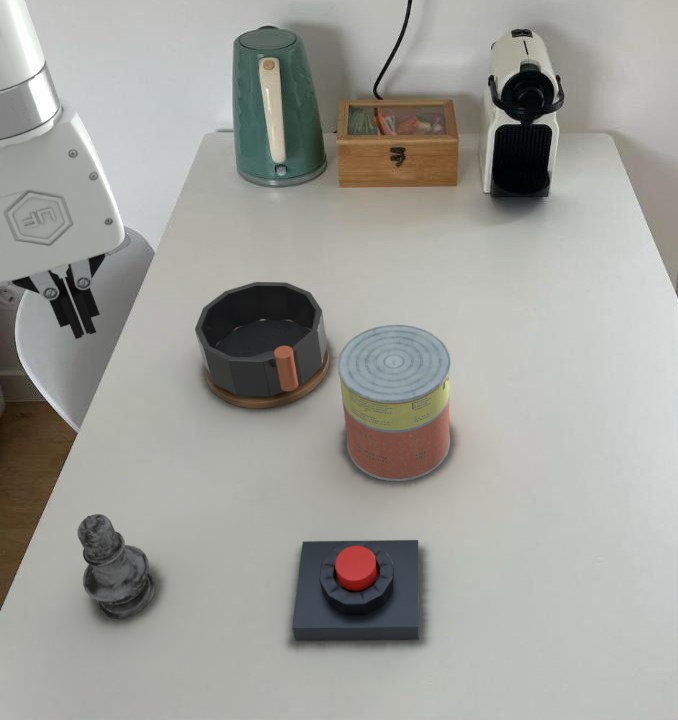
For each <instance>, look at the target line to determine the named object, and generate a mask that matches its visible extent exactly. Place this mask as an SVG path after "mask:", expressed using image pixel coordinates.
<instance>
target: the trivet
mask: <svg viewBox="0 0 678 720" xmlns="http://www.w3.org/2000/svg"><path fill="white" fill-rule="evenodd" d="M262 320H263V319H262ZM262 320H259V321H262ZM287 321H291V320H287ZM292 322H293V321H292ZM237 328H239V327H237ZM237 328H236V329H237ZM308 329H309V328H308ZM234 330H235V329H234ZM234 330H233V331H234ZM309 330H311V329H309ZM311 331H312V330H311ZM218 343H219V342H218ZM218 343H217V345H218ZM217 345H216V346H217ZM329 366H330V352H329V347H328V345H327V347H326V351H325V356H324V361H323V365H322V367H321V368H320V369H319V370H318V371H317V372H316V373H315V374H314V375H312V376H311V377H310V378H309V379H308V380H307V381H306V382H305V383H304V384H303V385H301V386H299V387H297V388H296V389H295V390H293V391H286V392H283V393H280V394H276V395H273V396H270V397H268V396H257V397H255V396H238V395H235V394H233V393H231V392H229V391H227V390H225V389H223V388H221V387H219V386H218V385H216V384H214V383H213V382H212V380H211V378H210V375H209V373H208V371H207V369H206V367H205V366H204V375H205V378H206V382H207V384H208V387H209V388H210V389H211V391H212V392H213V393H214V394H215V395H216V396H217V397H218V398H220V399H221V400H223V401H224V402H226V403H229V404H231V405H234V406H237V407H241V408H246V409H270V408H275V407H280V406H284V405H287V404H290V403H293V402H295V401H297V400H300V399H302V398H303V397H305V396H307V395H308V394H309V393H311V392H312V391H313V390H314V389H316V388H317V387H318V386H319V384H320V383H321V382H322V381H323V380H324V378H325V377H326V375H327V373H328V370H329Z"/></svg>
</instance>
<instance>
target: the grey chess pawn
mask: <svg viewBox="0 0 678 720" xmlns="http://www.w3.org/2000/svg"><path fill="white" fill-rule="evenodd" d="M77 538H78V539H79V542H80V544H81V545H82V548H83V550H82V558H83V559H84V561H85V562H86V563H87V566H86V568H85V570H84V572H83V576H82V586H83V589H84V591H85V593H86V594H87V595H88V596H89V597H90V598H91V599H94V600H96V602H97V607H98V609H99V611H100V612H101V613H102V614H103V615H104V616H106V617H108V618H110V619H116V620H119V619H120V620H121V619H127V618H131V617H133V616H135V615H137V614H139V613H140V612H142V611H143V610H144V609H145V608H146V607H147V606H148V605H149V604H150V602H152V599H153V597H154V595H155V590H156V585H155V581H154V578H153V576H152V575H151V574H150V573H149V570H150V562H149V559H148V556H147V554H146V553H145V552H144V551H143V550H142V549H141V548H139V547H137V546H134V545H129V544H126V541H125V538H124V536H123V534H121V533H120V532H118V531H116V530H115V528H114V525H113V524H112V522H111V519H110V518H109V517H108V516H107V515H105V514H101V513H97V514H96V513H95V514H92V515H87V516H86V518H83V520H82V521H81V522H80V524H79V525H78V527H77Z"/></svg>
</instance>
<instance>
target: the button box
mask: <svg viewBox="0 0 678 720" xmlns="http://www.w3.org/2000/svg"><path fill="white" fill-rule="evenodd" d="M351 546H362V547H365V548H367V549H369V550H370V551H371V552H372V553H373V555H374V556H375V560H376V569H377V575H376V578H375V580H374V582H373V583H372V584H371V585H370V586H369V587H367V588H366V589H363V590H360V591H351V590H348V589H346V588H344V587H343V586H341V584H340V583H339V582H338V579H337V575H336V569H335V561H336V558H337V556H338V555H339V553H340V552H341V551H343V550H344V549H346V548H348V547H351ZM419 551H420V549H419V540H418V539H396V540H395V539H392V540H391V539H387V540H386V539H384V540H383V539H382V540H380V539H379V540H315V541H314V540H313V541H311V540H310V541H309V540H308V541H302V545H301V553H300V562H299V568H298V569H299V571H298V576H297V577H298V579H297V585H296V596H295V602H294V603H295V604H294V611H293V612H294V613H293V621H292V632H293V636H294V641H296V642H304V641H305V642H309V641H311V642H313V641H315V642H316V641H318V642H319V641H404V640H405V641H407V640H410V641H411V640H413V641H416V640H417V641H418V640H420V563H419V562H420V552H419Z"/></svg>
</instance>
